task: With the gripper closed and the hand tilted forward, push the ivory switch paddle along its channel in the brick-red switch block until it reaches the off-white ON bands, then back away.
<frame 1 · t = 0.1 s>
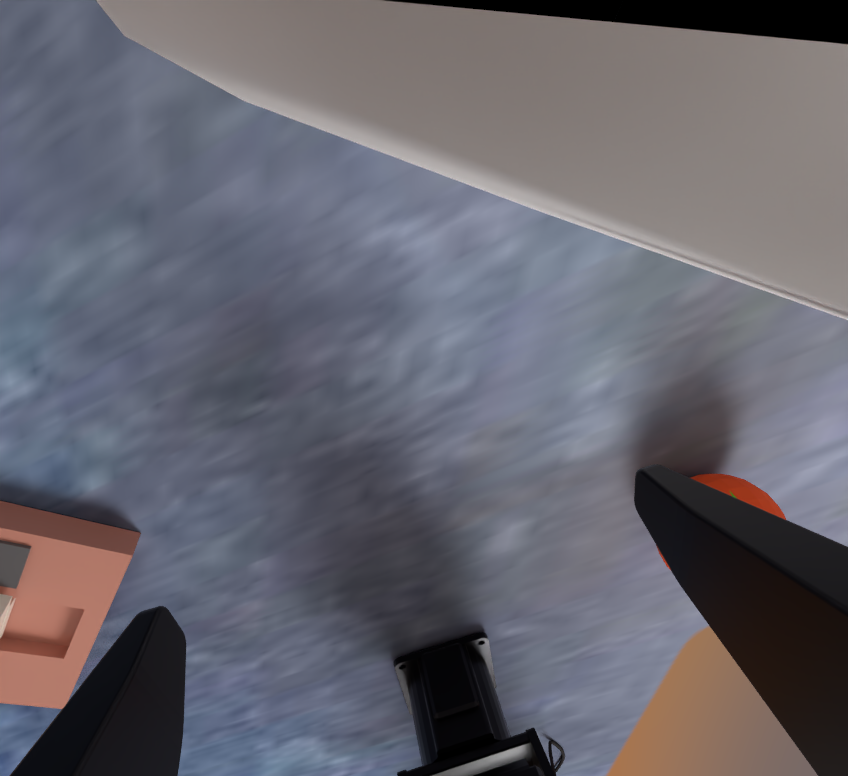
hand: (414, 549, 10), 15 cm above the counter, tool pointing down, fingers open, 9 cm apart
clementine: (678, 487, 33), on the counter
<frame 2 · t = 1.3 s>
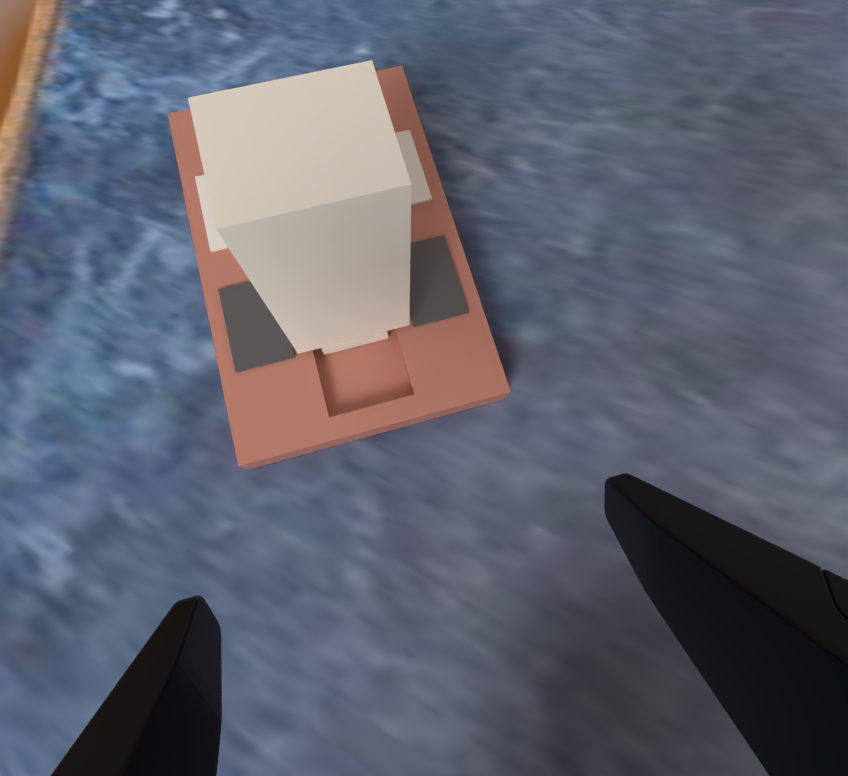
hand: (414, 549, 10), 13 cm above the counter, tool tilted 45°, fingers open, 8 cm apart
switch tab: (328, 247, 19), point 6 cm above the counter, slide at 0.0 cm
switch block: (333, 259, 26), on the counter
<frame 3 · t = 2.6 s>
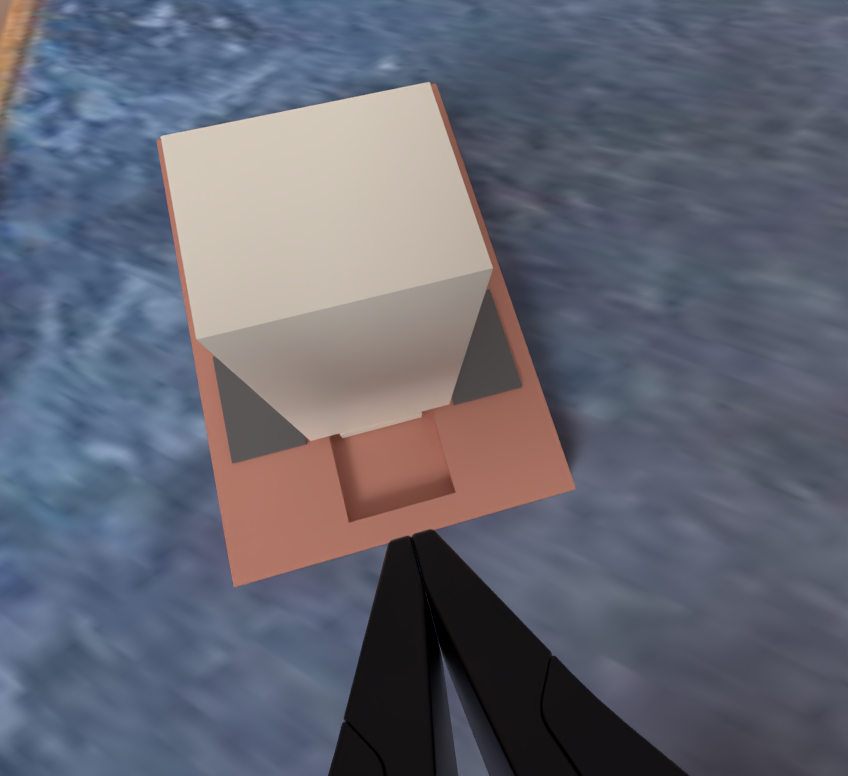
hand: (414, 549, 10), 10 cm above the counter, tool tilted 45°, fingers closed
switch tab: (354, 321, 14), point 6 cm above the counter, slide at 0.0 cm
switch block: (353, 315, 21), on the counter
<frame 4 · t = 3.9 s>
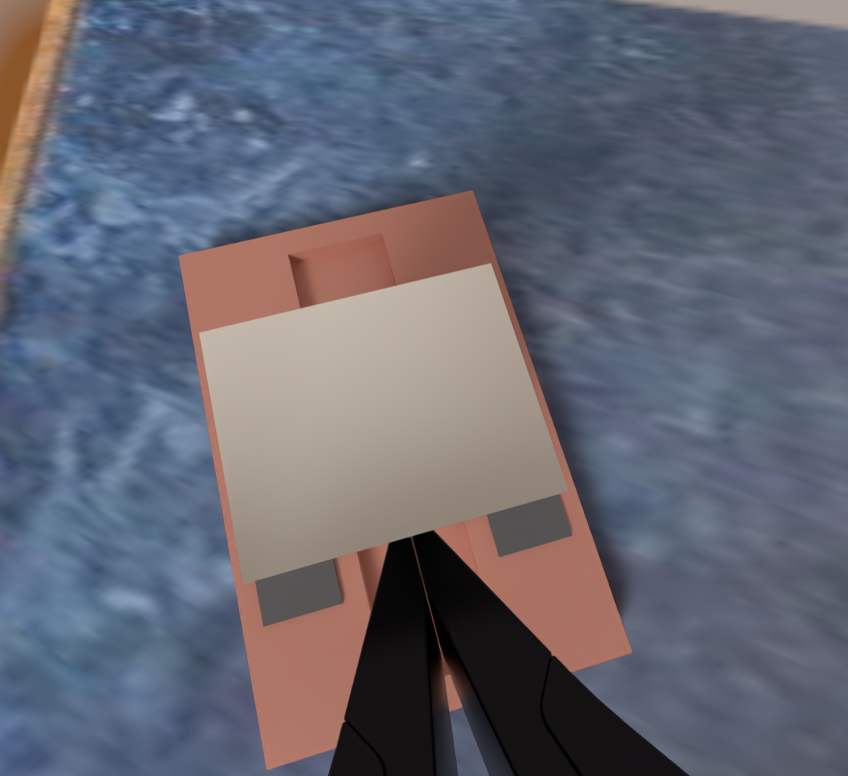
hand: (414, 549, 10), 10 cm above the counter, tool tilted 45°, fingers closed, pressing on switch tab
switch tab: (390, 456, 14), point 6 cm above the counter, slide at 1.6 cm, touching gripper
switch block: (387, 443, 20), on the counter
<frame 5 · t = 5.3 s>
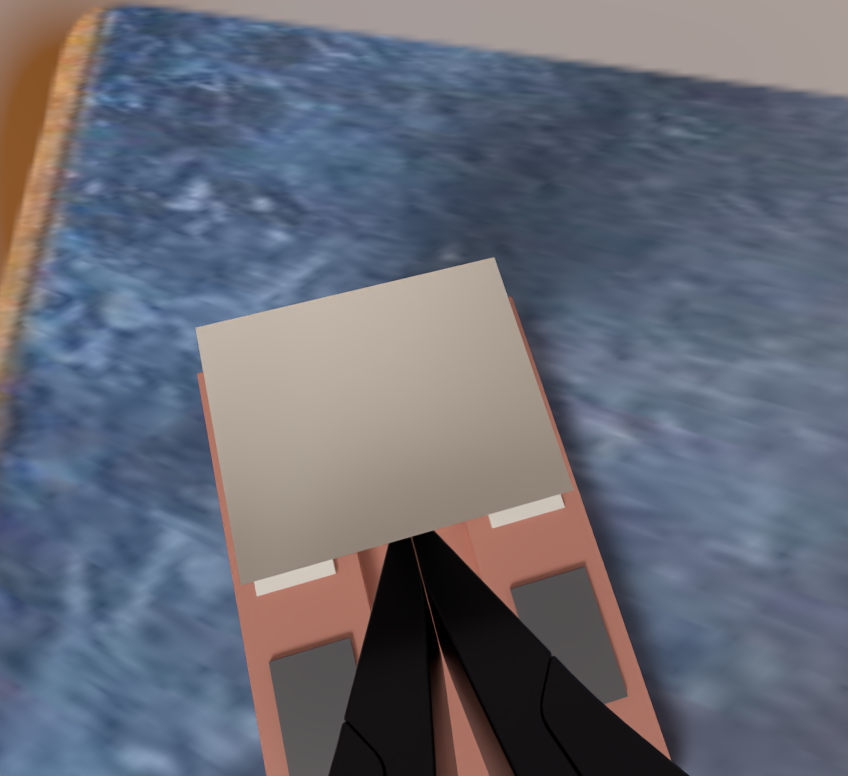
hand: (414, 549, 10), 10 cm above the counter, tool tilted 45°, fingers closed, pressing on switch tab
switch tab: (390, 454, 13), point 6 cm above the counter, slide at 6.7 cm, touching gripper
switch block: (422, 576, 19), on the counter
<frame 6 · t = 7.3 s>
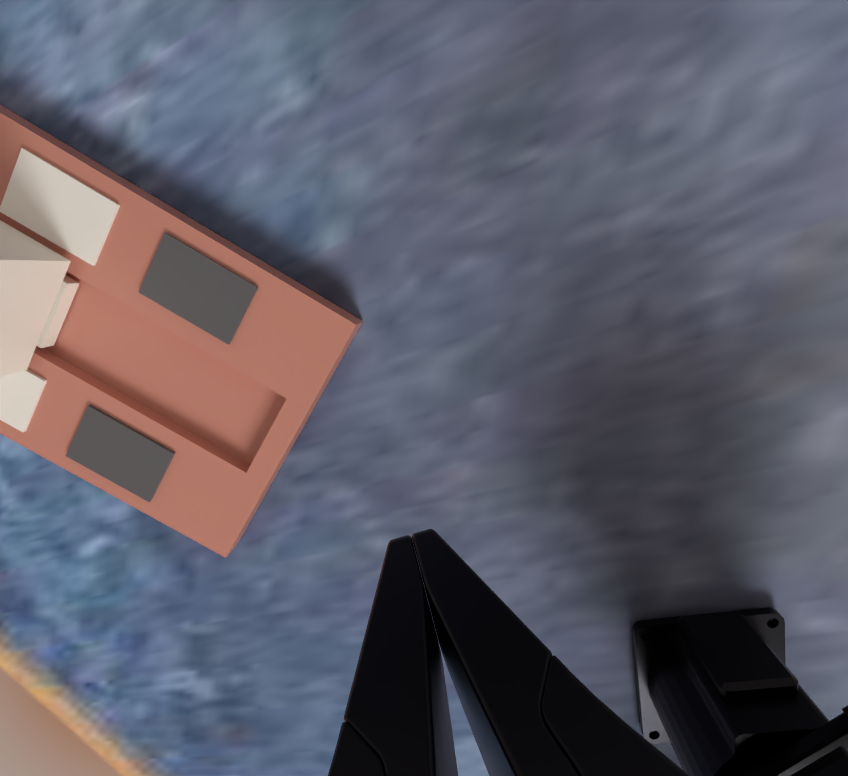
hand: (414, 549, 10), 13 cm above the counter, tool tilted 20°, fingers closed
switch block: (116, 332, 23), on the counter
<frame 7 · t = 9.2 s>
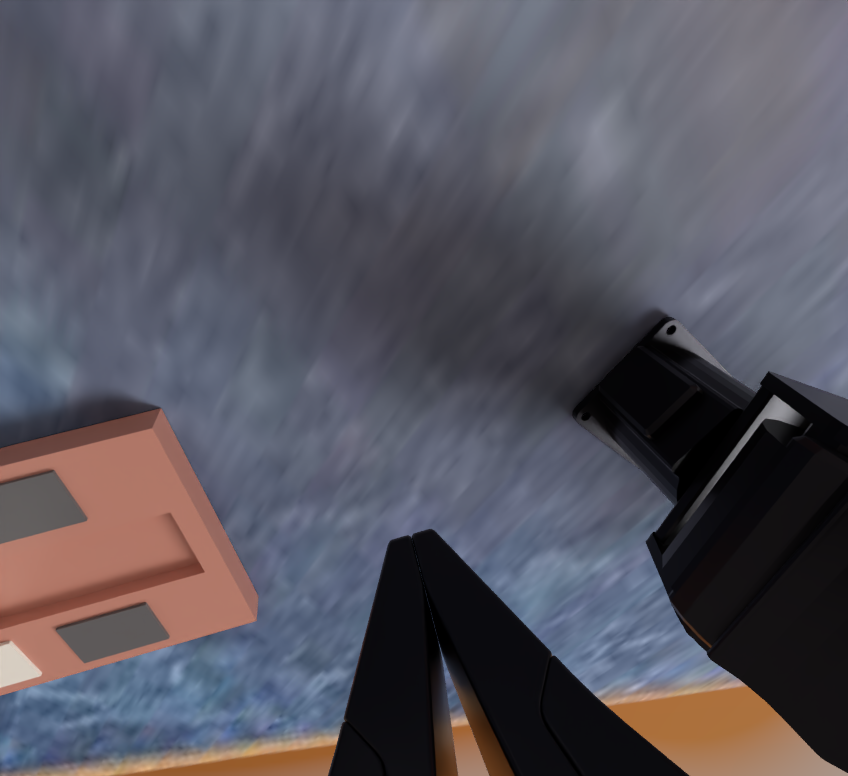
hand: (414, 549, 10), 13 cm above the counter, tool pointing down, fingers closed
switch block: (15, 568, 23), on the counter
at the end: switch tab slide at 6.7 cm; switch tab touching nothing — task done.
